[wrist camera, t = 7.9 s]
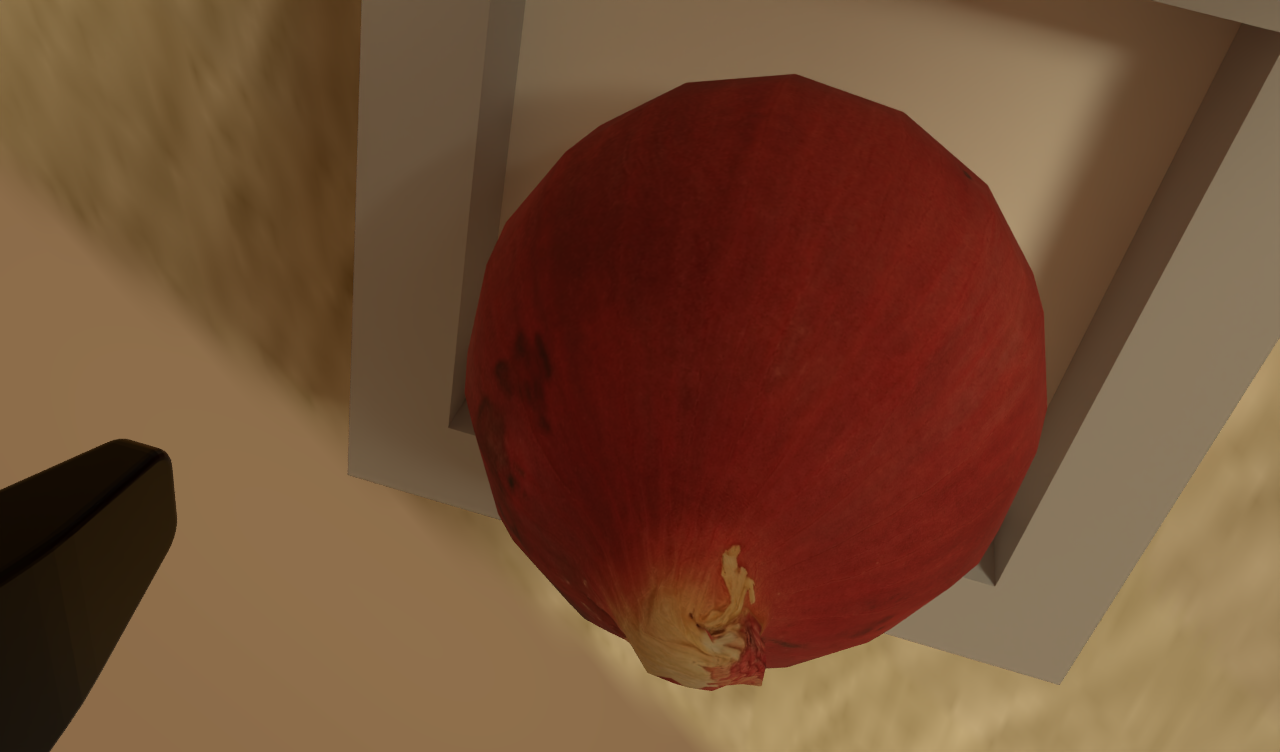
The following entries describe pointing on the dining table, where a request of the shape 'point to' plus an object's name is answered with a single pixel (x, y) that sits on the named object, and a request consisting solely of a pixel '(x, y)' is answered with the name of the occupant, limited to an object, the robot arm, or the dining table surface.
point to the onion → (755, 375)
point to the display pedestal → (961, 122)
